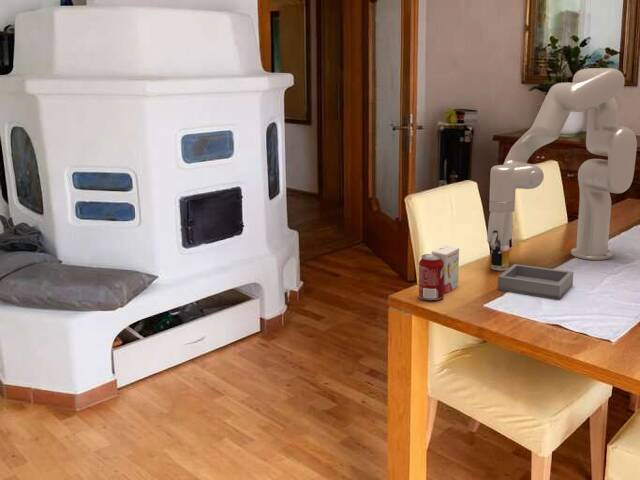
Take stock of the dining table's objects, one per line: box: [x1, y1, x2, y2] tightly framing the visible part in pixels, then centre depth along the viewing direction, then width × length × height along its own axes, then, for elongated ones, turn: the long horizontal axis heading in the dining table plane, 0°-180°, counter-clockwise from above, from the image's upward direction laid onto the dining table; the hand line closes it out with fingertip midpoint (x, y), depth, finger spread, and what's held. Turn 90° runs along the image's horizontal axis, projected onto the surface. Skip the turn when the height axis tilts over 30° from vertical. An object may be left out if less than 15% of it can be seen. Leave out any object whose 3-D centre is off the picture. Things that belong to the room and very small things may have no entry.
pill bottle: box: [490, 241, 510, 272], centre depth 205 cm, size 5×5×10 cm
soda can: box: [418, 253, 445, 301], centre depth 181 cm, size 7×7×12 cm
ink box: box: [430, 244, 460, 295], centre depth 188 cm, size 9×5×12 cm, turn 142°
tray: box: [497, 263, 574, 301], centre depth 187 cm, size 14×17×4 cm
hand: (499, 262), depth 206 cm, fingers closed on pill bottle, 5 cm apart
